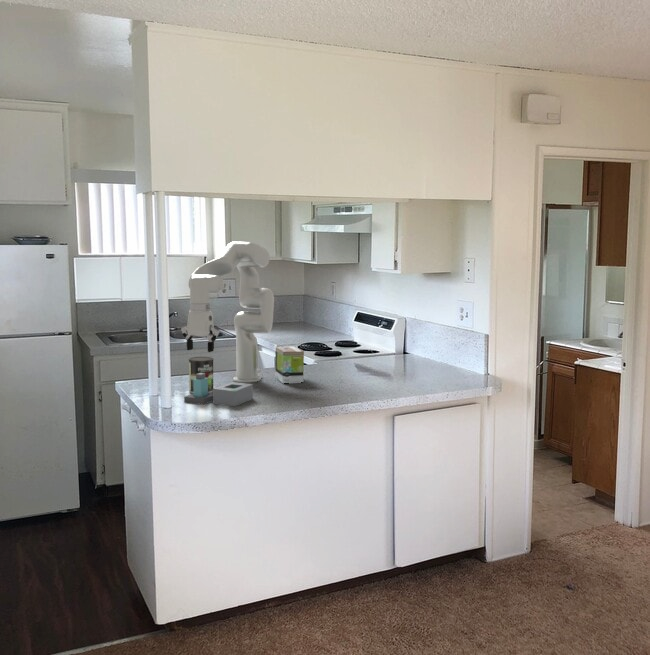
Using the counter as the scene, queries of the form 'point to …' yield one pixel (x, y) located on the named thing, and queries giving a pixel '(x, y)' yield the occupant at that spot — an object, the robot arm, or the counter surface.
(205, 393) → the plug
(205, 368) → the coffee can
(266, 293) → the robot arm
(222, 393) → the port
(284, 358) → the tea box
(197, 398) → the holster
